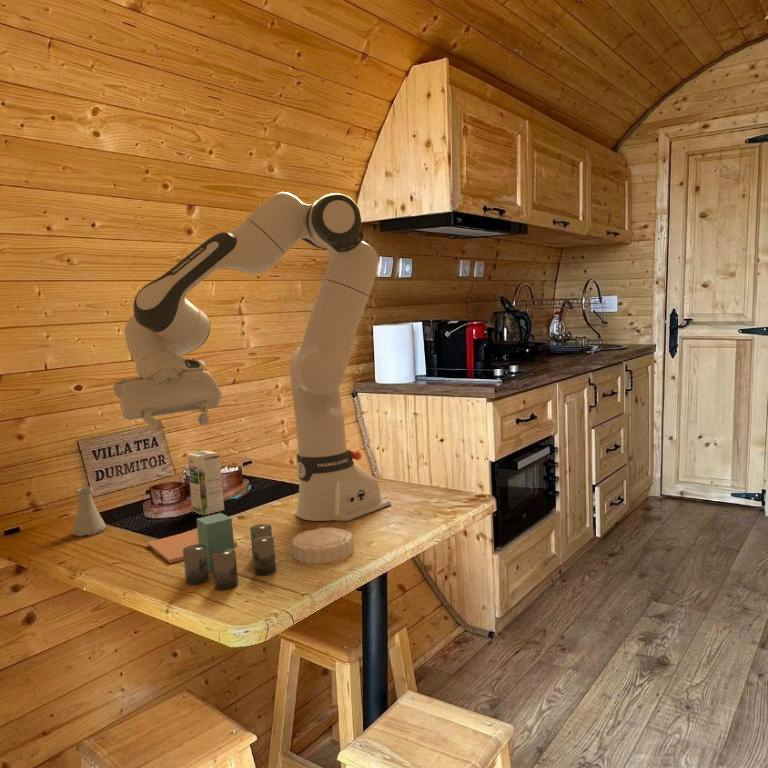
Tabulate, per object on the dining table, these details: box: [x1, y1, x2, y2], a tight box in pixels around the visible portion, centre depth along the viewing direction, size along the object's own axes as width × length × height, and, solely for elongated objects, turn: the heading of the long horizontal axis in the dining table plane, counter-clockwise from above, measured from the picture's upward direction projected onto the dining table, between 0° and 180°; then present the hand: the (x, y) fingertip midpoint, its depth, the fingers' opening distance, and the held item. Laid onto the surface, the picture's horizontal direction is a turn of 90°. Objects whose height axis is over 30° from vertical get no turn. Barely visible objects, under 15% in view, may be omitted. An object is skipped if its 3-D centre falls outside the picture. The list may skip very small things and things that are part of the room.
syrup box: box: [187, 450, 225, 517], centre depth 168 cm, size 6×6×14 cm
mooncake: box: [291, 526, 355, 565], centre depth 137 cm, size 12×12×4 cm
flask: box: [70, 487, 108, 537], centre depth 159 cm, size 7×7×10 cm
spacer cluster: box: [183, 523, 277, 591], centre depth 129 cm, size 18×12×6 cm, turn 126°
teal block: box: [196, 512, 235, 572], centre depth 134 cm, size 5×5×9 cm
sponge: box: [230, 484, 252, 500], centre depth 184 cm, size 2×12×6 cm
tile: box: [146, 529, 238, 564], centre depth 145 cm, size 14×14×1 cm
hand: (182, 426), depth 141 cm, fingers open, 8 cm apart
